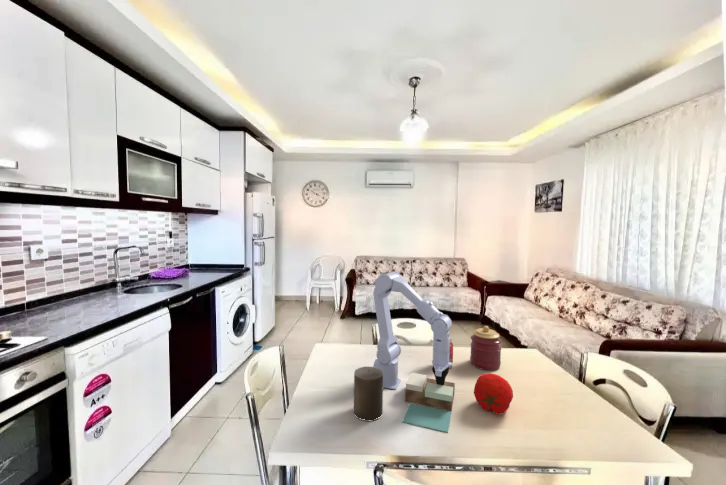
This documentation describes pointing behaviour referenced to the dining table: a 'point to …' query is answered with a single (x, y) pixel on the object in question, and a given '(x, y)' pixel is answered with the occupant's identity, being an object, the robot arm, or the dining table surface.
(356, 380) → the pillar candle
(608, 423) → the dining table surface
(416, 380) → the off-white flat block
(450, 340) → the soda can
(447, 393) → the pale green block
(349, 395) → the dining table surface
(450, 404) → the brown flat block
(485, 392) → the tomato
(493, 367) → the canister
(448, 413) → the mat
